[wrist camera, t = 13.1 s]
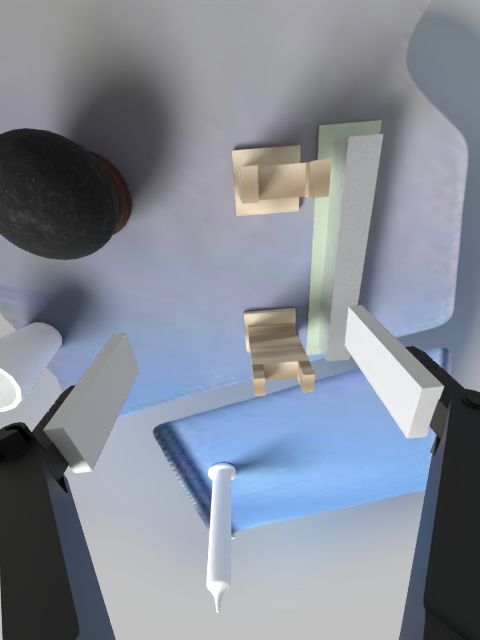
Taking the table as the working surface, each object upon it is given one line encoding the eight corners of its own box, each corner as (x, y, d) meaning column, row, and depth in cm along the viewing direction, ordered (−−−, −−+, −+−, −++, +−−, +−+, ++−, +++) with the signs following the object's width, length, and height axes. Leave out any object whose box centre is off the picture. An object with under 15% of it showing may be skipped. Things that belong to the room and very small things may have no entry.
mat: (318, 125, 34) (319, 125, 34) (380, 120, 34) (382, 120, 34) (306, 353, 51) (306, 354, 50) (347, 350, 51) (348, 351, 50)
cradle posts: (232, 151, 35) (232, 132, 22) (299, 145, 35) (340, 123, 22) (246, 349, 50) (252, 409, 37) (293, 345, 50) (316, 404, 37)
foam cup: (77, 329, 47) (27, 377, 35) (64, 365, 50) (15, 419, 39) (20, 305, 44) (-54, 348, 33) (11, 345, 48) (-58, 396, 36)
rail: (333, 142, 34) (348, 136, 30) (364, 140, 34) (383, 133, 30) (317, 345, 49) (326, 361, 45) (338, 343, 49) (349, 359, 45)
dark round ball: (145, 243, 40) (102, 273, 27) (58, 244, 40) (-28, 275, 27) (128, 141, 34) (62, 114, 21) (25, 140, 34) (-108, 113, 21)
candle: (206, 477, 68) (194, 619, 46) (211, 460, 65) (201, 603, 43) (232, 480, 69) (233, 620, 47) (238, 464, 66) (242, 605, 44)
